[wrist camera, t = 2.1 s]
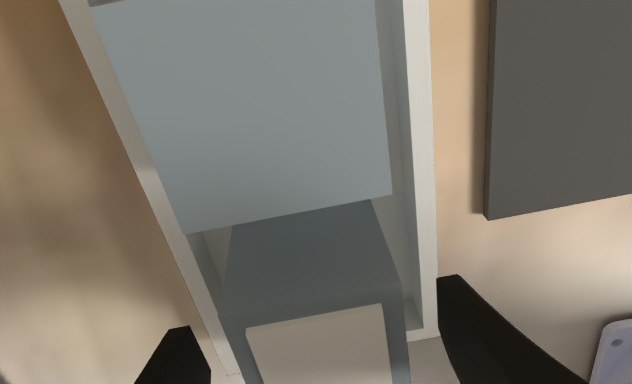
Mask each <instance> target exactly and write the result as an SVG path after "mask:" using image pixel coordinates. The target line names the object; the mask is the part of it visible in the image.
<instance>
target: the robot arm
mask: <svg viewBox="0 0 632 384" xmlns="http://www.w3.org/2000/svg"><path fill="white" fill-rule="evenodd" d="M436 291H437V317H438V329H439V332H440V335H441V338H442V340H443V343H444V346H445V349H446V352H447V354H448V357H449V360H450V362H451V364H452V367H453V369H454V371H455V373H456V375H457V377H458V379H459V381H460V383H461V384H632V318H631V319H626V320H621V321H615V322H612V323H609V324H608V325H606V326H605V327H604V329H603V331H602V335H601V339H600V343H599V347H598V351H597V355H596V359H595V363H594V366H593V370H592V374H591V378H590V382H589V383H588V382H586V381H585V380H584V379H582V378H581V377H579V376H578V375H576V374H575V373H573V372H572V371H571V370H569V369H568V368H566V367H565V366H564V365H562V364H561V363H559V362H558V361H557V360H555V359H554V358H553V357H551V356H550V355H549V354H547V353H546V352H545V351H544V350H542V349H541V348H540V347H539V346H537V345H536V344H535V343H533V342H532V341H531V340H530V339H529V338H527V337H526V336H525V335H524V334H522V333H521V332H520V331H519V330H518V329H517V328H515V327H514V326H513V325H512V324H511V323H510V322H508V321H507V320H506V319H505V318H504V317H503V316H502V315H500V314H499V313H498V312H497V311H496V310H495V309H494V308H493V307H492V306H491V305H490V304H488V303H487V302H486V301H485V300H484V299H483V298H482V297H481V296H480V295H479V294H478V293H477V292H476V291H475V290H474V289H473V288H472V287H471V286H470V285H469V284H468V283H467V282H466V281H465V280H464V279H463V278H462V277H461V276H459V275H458V274H455V275H450V276H444V277H439V278H436ZM210 383H211V369H210V367H209V365H208V363H207V361H206V359H205V357H204V355H203V352H202V350H201V348H200V346H199V344H198V342H197V340H196V338H195V336H194V334H193V332H192V330H191V327H190V325H189V326H183V327H178V328H173V329H169V330H168V331H167V333H166V334H165V336H164V337H163V339H162V340H161V342H160V344H159V345H158V347H157V348H156V350H155V351H154V353H153V355H152V356H151V358H150V359H149V361H148V363H147V364H146V366H145V367H144V369H143V370H142V372H141V373H140V375H139V377H138V378H137V380H136V381H135V383H134V384H210Z"/></svg>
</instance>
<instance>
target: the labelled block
mask: <svg viewBox="0 0 632 384" xmlns="http://www.w3.org/2000/svg"><path fill="white" fill-rule="evenodd" d="M218 319H219V321H220V323H221V326H222V328H223V330H224V333H225V335H226V338H227V340H228V342H229V345H230V347H231V350H232V352H233V354H234V357H235V359H236V361H237V364H238V366H239V369H240V371H241V373H242V376H243V378H244V380H245V383H246V384H411V378H410V368H409V357H408V347H407V337H406V326H405V316H404V305H403V295H402V285H401V280H400V278H399V275H398V272H397V270H396V267H395V264H394V261H393V259H392V256H391V253H390V251H389V248H388V245H387V243H386V240H385V237H384V235H383V232H382V229H381V227H380V224H379V221H378V218H377V216H376V213H375V210H374V208H373V205H372V202H371V200H370V199H367V200H362V201H357V202H351V203H346V204H341V205H336V206H331V207H326V208H320V209H315V210H310V211H305V212H300V213H294V214H289V215H284V216H279V217H274V218H268V219H263V220H258V221H253V222H248V223H243V224H237V225H233V227H232V233H231V239H230V245H229V251H228V257H227V263H226V270H225V276H224V282H223V288H222V294H221V300H220V307H219V313H218Z"/></svg>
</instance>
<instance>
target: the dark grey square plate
mask: <svg viewBox="0 0 632 384" xmlns="http://www.w3.org/2000/svg"><path fill="white" fill-rule="evenodd" d="M627 194H632V0H491V5H490V35H489V64H488V93H487V122H486V151H485V181H484V210H483V215H484V216H485V218H486V219H487V220H488V221H490V220H495V219H501V218H506V217H511V216H516V215H522V214H527V213H532V212H537V211H543V210H548V209H553V208H558V207H564V206H569V205H574V204H579V203H585V202H590V201H595V200H600V199H606V198H611V197H616V196H621V195H627Z"/></svg>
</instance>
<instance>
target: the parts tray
mask: <svg viewBox="0 0 632 384" xmlns="http://www.w3.org/2000/svg"><path fill="white" fill-rule="evenodd" d="M58 1H59V3H60V6H61V8H62V10H63V12H64V14H65V17H66V19H67V21H68V23H69V26H70V28H71V30H72V32H73V34H74V37H75V39H76V41H77V43H78V46H79V48H80V50H81V52H82V54H83V57H84V59H85V61H86V63H87V66H88V68H89V70H90V72H91V74H92V77H93V79H94V81H95V83H96V86H97V88H98V90H99V92H100V94H101V97H102V99H103V101H104V103H105V106H106V108H107V110H108V112H109V114H110V117H111V119H112V121H113V123H114V125H115V128H116V130H117V132H118V134H119V137H120V139H121V141H122V143H123V145H124V148H125V150H126V152H127V154H128V157H129V159H130V161H131V163H132V165H133V168H134V170H135V172H136V174H137V177H138V179H139V181H140V183H141V185H142V188H143V190H144V192H145V194H146V197H147V199H148V201H149V203H150V205H151V208H152V210H153V212H154V214H155V217H156V219H157V221H158V223H159V225H160V228H161V230H162V232H163V234H164V237H165V239H166V241H167V243H168V245H169V248H170V250H171V252H172V254H173V257H174V259H175V261H176V263H177V265H178V268H179V270H180V272H181V274H182V277H183V279H184V281H185V283H186V285H187V288H188V290H189V292H190V294H191V296H192V299H193V301H194V303H195V305H196V308H197V310H198V312H199V314H200V316H201V319H202V321H203V323H204V325H205V328H206V330H207V332H208V334H209V336H210V339H211V341H212V343H213V345H214V348H215V350H216V352H217V354H218V356H219V359H220V361H221V363H222V365H223V368H224V370H225V372H226V374H227V376H228V375H234V374H239V373H241V371H240V369H239V366H238V364H237V361H236V359H235V357H234V354H233V352H232V350H231V347H230V345H229V342H228V340H227V338H226V335H225V333H224V330H223V328H222V326H221V323H220V321H219V319H218V313H219V307H220V300H221V294H222V288H223V282H224V276H225V270H226V263H227V257H228V251H229V245H230V239H231V233H232V227H233V225H232V226H227V227H222V228H217V229H211V230H206V231H201V232H196V233H191V234H185V235H183V233H182V231H181V228H180V226H179V224H178V221H177V219H176V216H175V214H174V212H173V209H172V207H171V204H170V202H169V200H168V197H167V195H166V193H165V190H164V188H163V185H162V183H161V181H160V178H159V176H158V174H157V171H156V169H155V166H154V164H153V162H152V159H151V157H150V155H149V152H148V150H147V147H146V145H145V143H144V140H143V138H142V136H141V133H140V131H139V128H138V126H137V124H136V121H135V119H134V117H133V114H132V112H131V109H130V107H129V105H128V102H127V100H126V97H125V95H124V93H123V90H122V88H121V86H120V83H119V81H118V78H117V76H116V74H115V71H114V69H113V67H112V64H111V62H110V59H109V57H108V55H107V52H106V50H105V48H104V45H103V43H102V40H101V38H100V36H99V33H98V31H97V29H96V26H95V24H94V21H93V19H92V17H91V14H90V12H89V10H88V8H89V7H92V6H96V5H99V4H102V3H105V2H109V1H112V0H58ZM374 4H375V15H376V25H377V36H378V46H379V56H380V67H381V77H382V87H383V98H384V108H385V119H386V129H387V139H388V150H389V160H390V170H391V181H392V191H393V195H388V196H383V197H377V198H372V199H370V200H371V202H372V205H373V208H374V210H375V213H376V216H377V218H378V221H379V224H380V227H381V229H382V232H383V235H384V237H385V240H386V243H387V245H388V248H389V251H390V253H391V256H392V259H393V261H394V264H395V267H396V270H397V272H398V275H399V278H400V280H401V285H402V295H403V305H404V316H405V326H406V337H407V342H412V341H417V340H422V339H428V338H433V337H439V336H440V332H439V329H438V317H437V291H436V278H438V259H437V231H436V203H435V175H434V147H433V119H432V91H431V63H430V35H429V7H428V0H374Z"/></svg>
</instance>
